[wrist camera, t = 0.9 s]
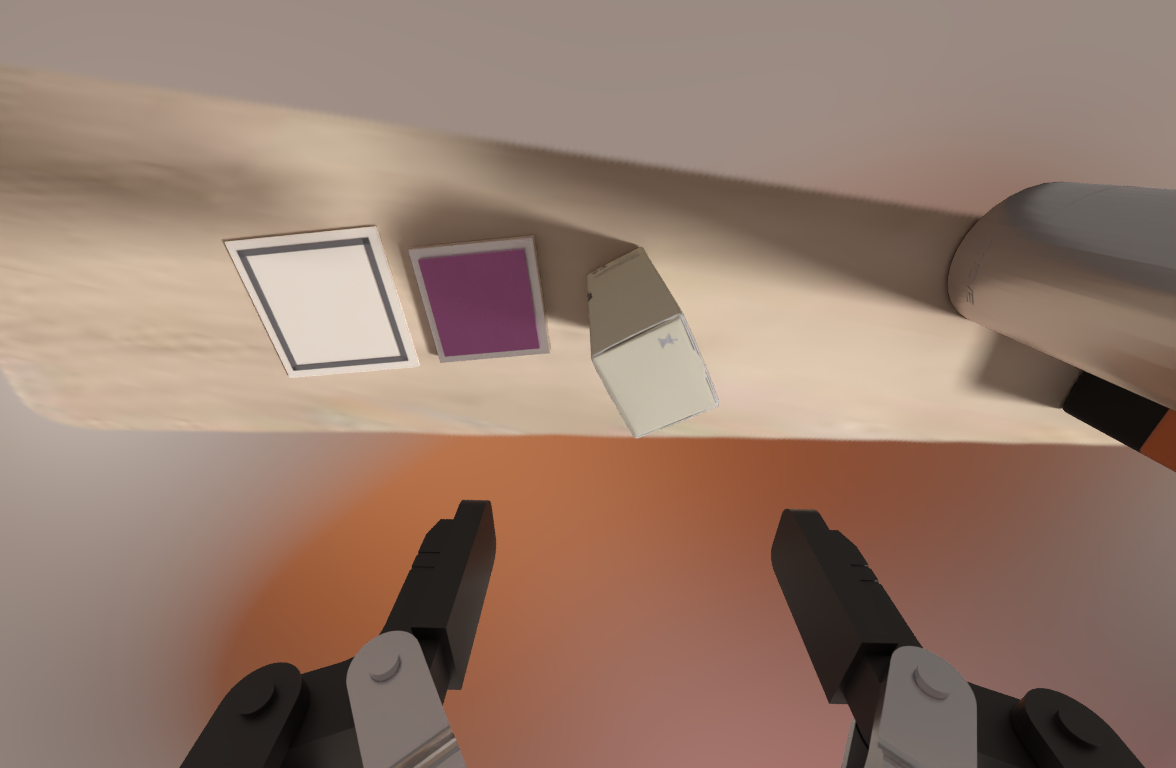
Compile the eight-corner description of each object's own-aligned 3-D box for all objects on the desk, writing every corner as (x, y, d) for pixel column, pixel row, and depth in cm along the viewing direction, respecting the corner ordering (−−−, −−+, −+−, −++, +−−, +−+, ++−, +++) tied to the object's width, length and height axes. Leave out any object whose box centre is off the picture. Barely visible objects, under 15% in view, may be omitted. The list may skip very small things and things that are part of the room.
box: (584, 273, 29) (582, 351, 18) (643, 243, 28) (682, 305, 17) (616, 338, 31) (633, 444, 20) (673, 312, 30) (724, 408, 19)
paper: (376, 225, 27) (373, 226, 27) (420, 365, 32) (418, 367, 32) (227, 241, 28) (223, 242, 28) (292, 376, 33) (289, 378, 32)
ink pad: (533, 234, 28) (531, 238, 26) (550, 347, 32) (549, 355, 30) (413, 246, 28) (405, 251, 27) (444, 356, 32) (438, 365, 31)
